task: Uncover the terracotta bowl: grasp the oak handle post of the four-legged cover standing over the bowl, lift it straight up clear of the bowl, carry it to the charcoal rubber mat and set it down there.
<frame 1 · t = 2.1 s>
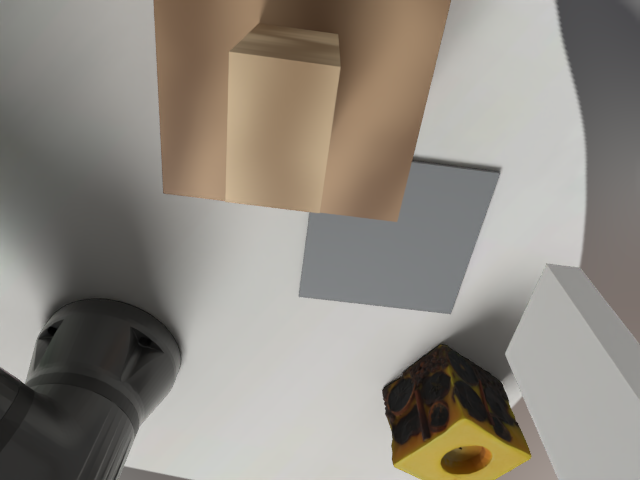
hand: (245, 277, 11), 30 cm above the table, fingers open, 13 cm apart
candle: (440, 383, 56), on the table
mat: (390, 238, 45), on the table
cover: (305, 47, 37), on the table
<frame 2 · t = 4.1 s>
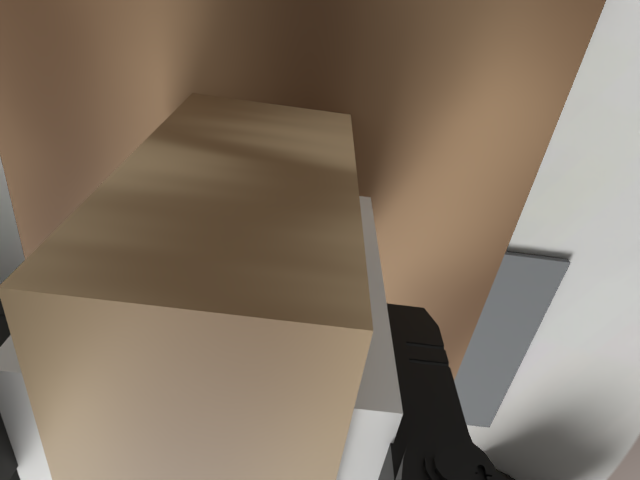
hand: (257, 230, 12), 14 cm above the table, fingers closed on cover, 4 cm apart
mat: (413, 338, 33), on the table
cover: (295, 91, 25), on the table, touching gripper
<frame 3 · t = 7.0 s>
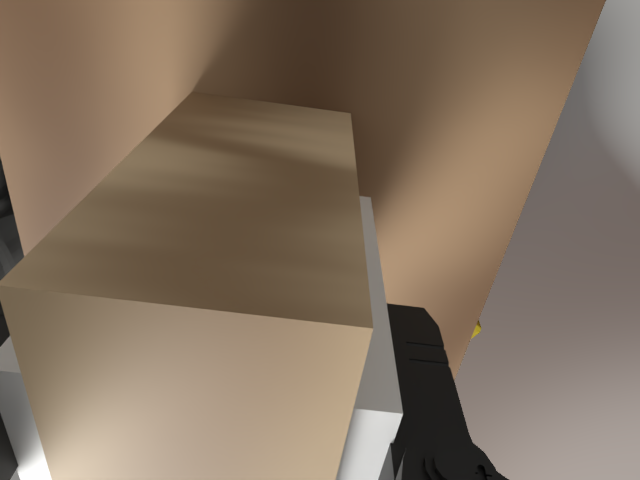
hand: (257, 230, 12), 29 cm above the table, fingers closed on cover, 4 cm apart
cover: (295, 90, 25), point 14 cm above the table, touching gripper
when the fingers open (16 cm above the table, at t = 9.7 s): cover drops 1 cm, resting on mat.
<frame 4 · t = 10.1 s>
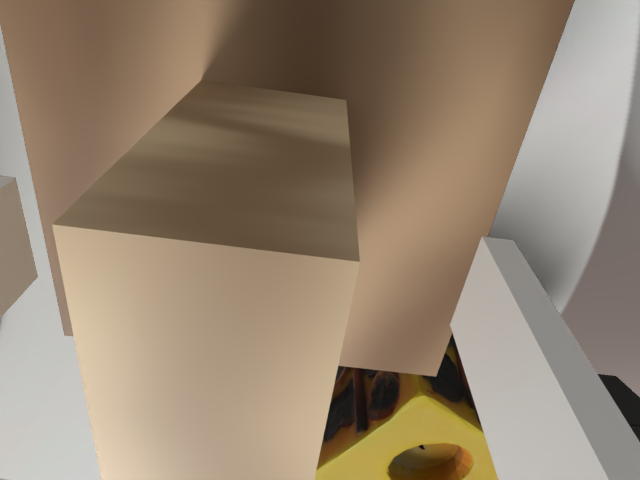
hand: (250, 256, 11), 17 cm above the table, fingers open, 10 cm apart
candle: (400, 348, 37), on the table
cover: (295, 85, 26), resting on mat
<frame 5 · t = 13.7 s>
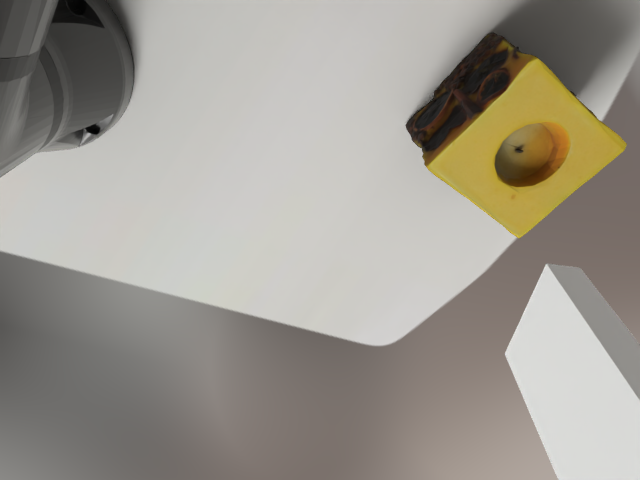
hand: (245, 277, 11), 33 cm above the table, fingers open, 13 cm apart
candle: (484, 114, 42), on the table
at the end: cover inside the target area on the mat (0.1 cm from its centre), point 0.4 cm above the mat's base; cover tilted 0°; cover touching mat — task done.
